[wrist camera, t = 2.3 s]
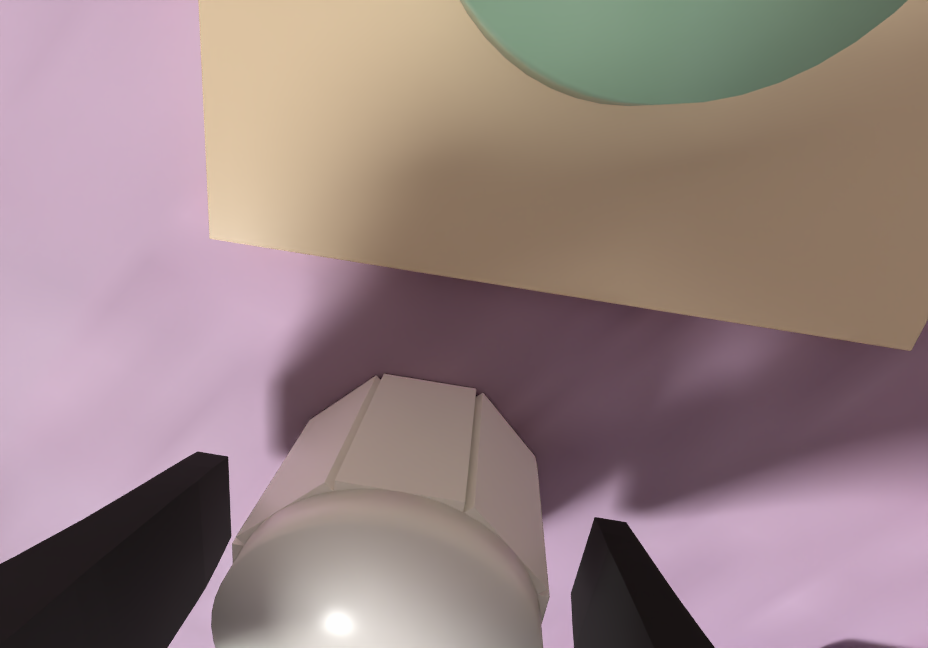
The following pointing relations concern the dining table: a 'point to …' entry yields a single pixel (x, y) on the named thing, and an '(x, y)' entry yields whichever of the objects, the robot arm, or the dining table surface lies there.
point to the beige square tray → (589, 149)
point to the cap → (393, 530)
